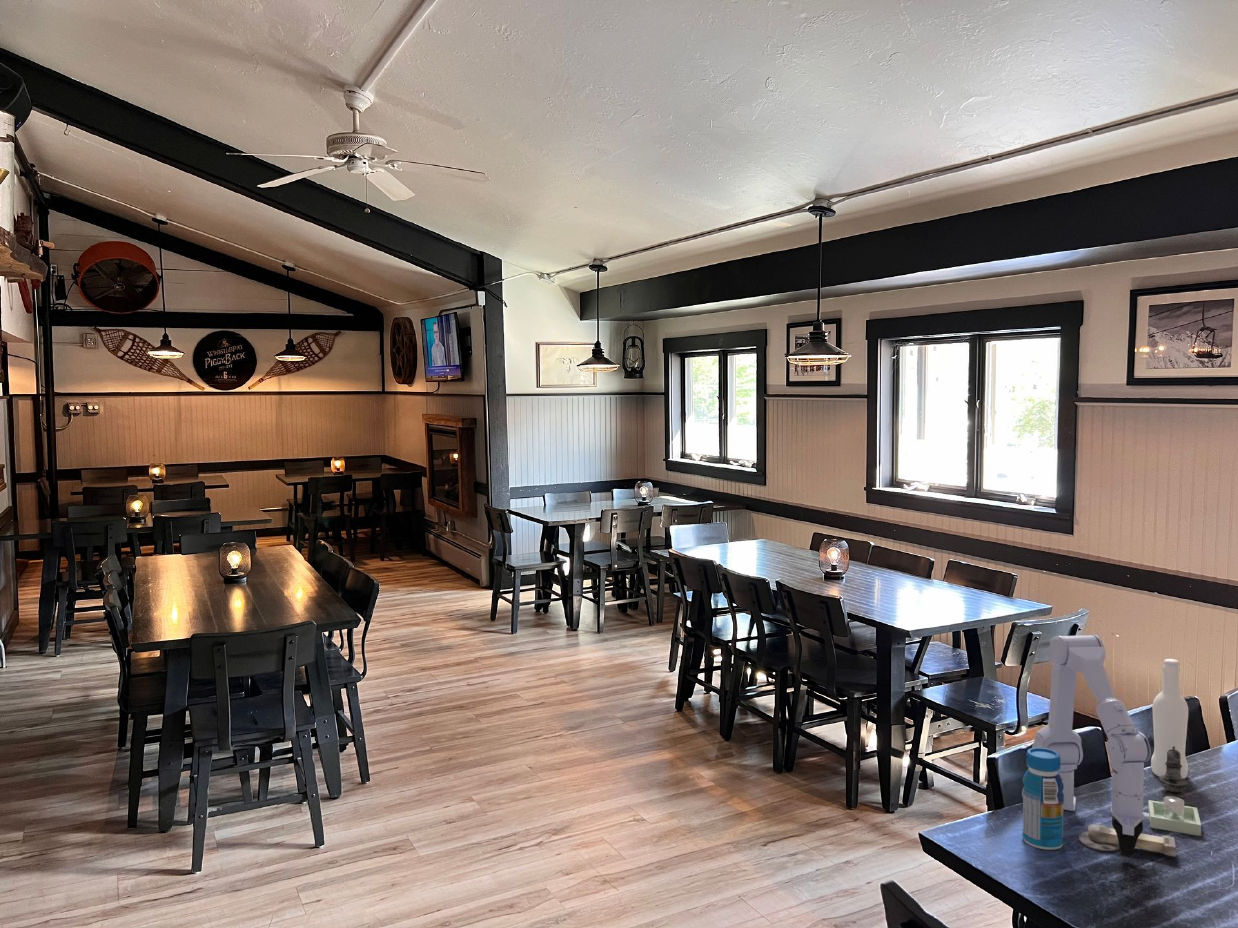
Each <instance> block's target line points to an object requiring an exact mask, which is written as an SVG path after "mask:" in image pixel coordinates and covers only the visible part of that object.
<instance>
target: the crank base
mask: <svg viewBox="0 0 1238 928" xmlns="http://www.w3.org/2000/svg"><path fill="white" fill-rule="evenodd" d="M1078 841H1079V842H1080V843H1081V844H1082V845H1084V846H1085V847H1086V848H1089V849H1092V850H1094V851H1095V850H1096V851H1101V852H1115V851H1118V850H1120V847H1119V844H1113V843H1100V842H1096V841H1093V840H1091V839H1090V838H1089V837H1088V830H1087V831H1083V832H1080V833H1079V835H1078Z"/></svg>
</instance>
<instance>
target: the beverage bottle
mask: <svg viewBox="0 0 1238 928" xmlns="http://www.w3.org/2000/svg"><path fill="white" fill-rule="evenodd" d="M1026 751H1027V752H1026V760H1025V762H1026V767H1028V769H1027V770H1026V771H1025V773H1024V775H1023V777H1022V784H1023V787H1022V790H1021V797H1022V805H1023V806H1022V807H1023V808H1022V812H1023V813H1022V814H1023V815H1022V817H1023V818H1022V819H1023V820H1022V822H1023V823H1022V832H1021V833H1022V839H1023V841H1024V842H1025V843H1026V844H1027V845H1029V846H1031V847H1034V848H1036V849H1039V850H1045V851H1053V850H1059V849H1061V848H1062V847H1063V845H1064V809H1063V804H1064V802H1065V797H1064V794H1063V792H1062V791H1063V789H1064V783H1063V780H1062V778H1061V776H1060V775H1059V773H1058V771H1059V770H1060V765H1061V758H1060V754H1059V753H1057V752H1056V751H1053V750H1050V749H1046V748H1032V747H1031V748H1028V749H1027V750H1026Z"/></svg>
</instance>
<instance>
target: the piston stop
mask: <svg viewBox="0 0 1238 928" xmlns="http://www.w3.org/2000/svg"><path fill="white" fill-rule="evenodd" d="M1163 802H1164V818H1170V819H1176V820H1182V821H1184V806H1185V800H1184V799H1180V798H1178V797H1173V796H1164V797H1163Z"/></svg>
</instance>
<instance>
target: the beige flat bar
mask: <svg viewBox="0 0 1238 928" xmlns="http://www.w3.org/2000/svg"><path fill="white" fill-rule="evenodd" d="M1087 829H1088V830H1087V831H1088V837H1089V838H1090V839H1091V840H1093V841H1096V842H1100V843H1113V844H1119V841H1118V837H1117V834H1116V831H1115V829H1114V828H1113V827H1112V828H1111V827H1107V826H1105V825H1102V824H1089V825H1088V827H1087ZM1135 849H1143V850H1146V851H1147V850H1148V851H1153V852H1159V853H1163V854H1164V856H1170V857H1177V855H1176V852H1177V850H1176V849H1177V848H1176V842H1175V837H1174V836H1170V835H1162V836H1158V835H1152V834H1147V833H1141V834H1140V835H1139V837H1138V839H1137V842H1136V845H1135Z"/></svg>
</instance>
